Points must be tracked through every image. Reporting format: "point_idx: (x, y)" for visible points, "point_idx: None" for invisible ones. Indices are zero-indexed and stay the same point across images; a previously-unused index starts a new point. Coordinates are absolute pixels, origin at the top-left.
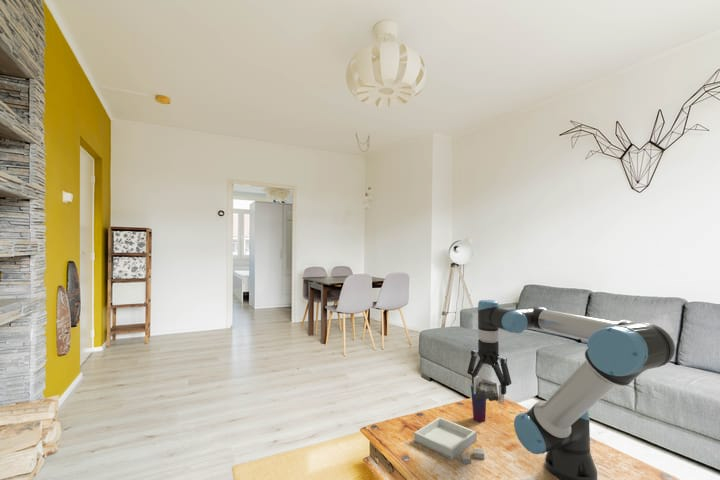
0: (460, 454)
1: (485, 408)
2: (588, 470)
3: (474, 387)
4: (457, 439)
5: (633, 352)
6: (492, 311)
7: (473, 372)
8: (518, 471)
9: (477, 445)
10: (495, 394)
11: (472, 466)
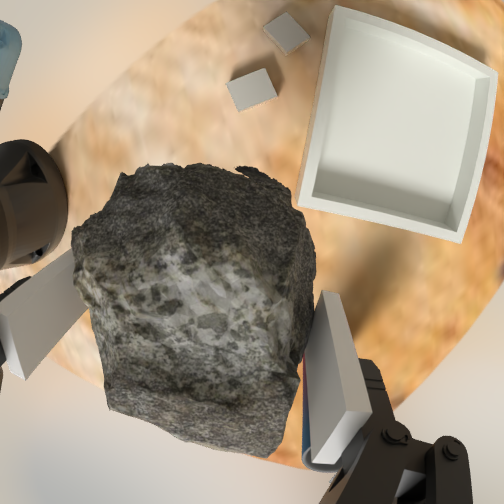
0: (308, 35)
1: (303, 382)
2: None
3: (341, 327)
4: (361, 148)
5: None
6: None
7: (389, 475)
8: (113, 93)
9: (281, 163)
10: (82, 249)
11: (251, 19)
